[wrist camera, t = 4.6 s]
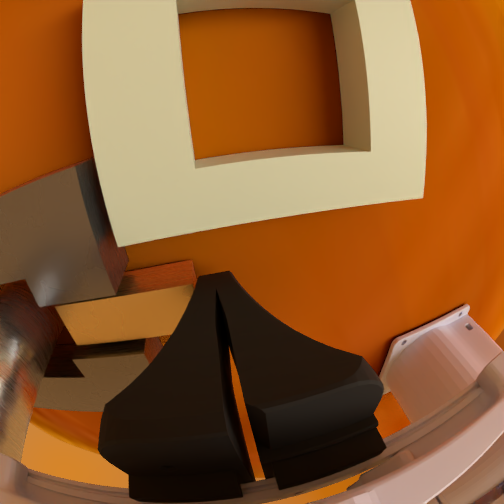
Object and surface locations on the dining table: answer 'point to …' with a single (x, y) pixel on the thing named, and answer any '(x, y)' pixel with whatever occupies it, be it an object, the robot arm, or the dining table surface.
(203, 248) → the dining table surface
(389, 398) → the dining table surface
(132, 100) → the cream flat rectangular frame
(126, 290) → the drift key
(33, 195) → the socket block
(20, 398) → the shiny metal cylinder
